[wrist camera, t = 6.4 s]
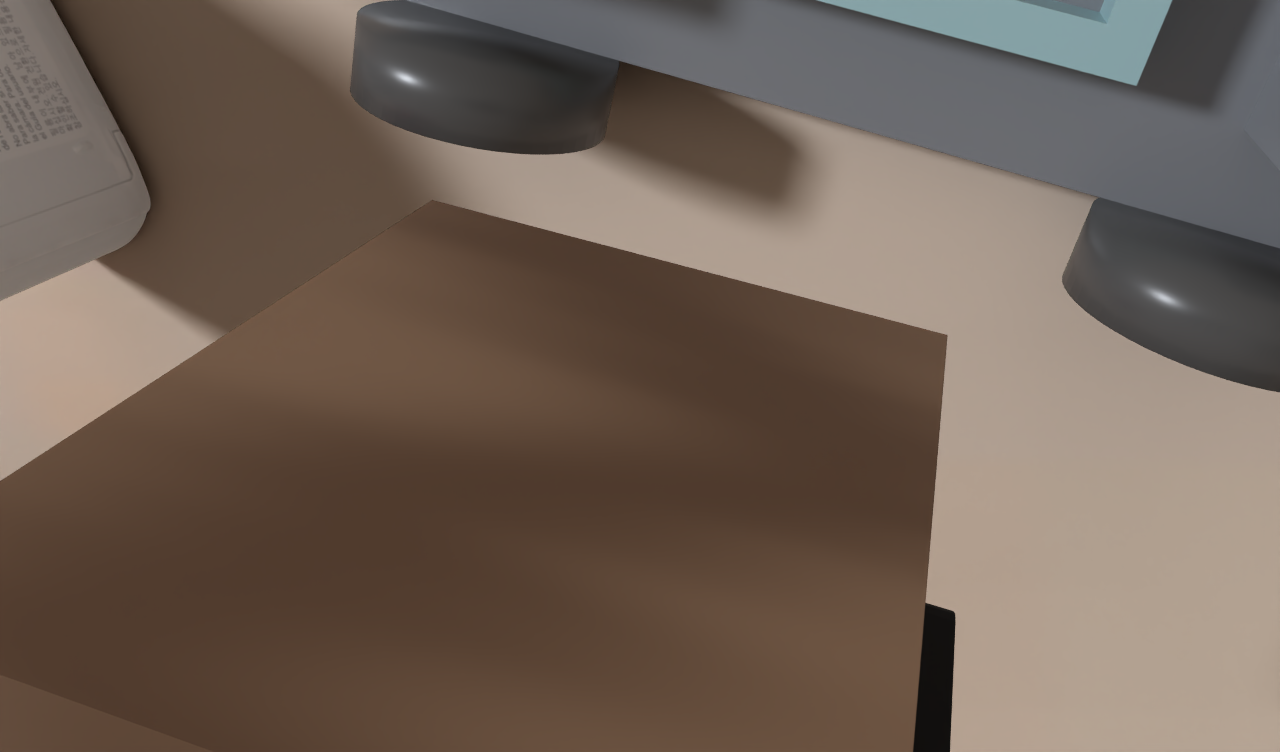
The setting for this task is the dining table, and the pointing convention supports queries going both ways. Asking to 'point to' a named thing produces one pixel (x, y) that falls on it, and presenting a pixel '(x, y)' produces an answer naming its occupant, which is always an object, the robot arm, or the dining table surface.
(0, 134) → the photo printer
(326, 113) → the dining table surface
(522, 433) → the brown cardboard carton
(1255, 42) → the chassis
